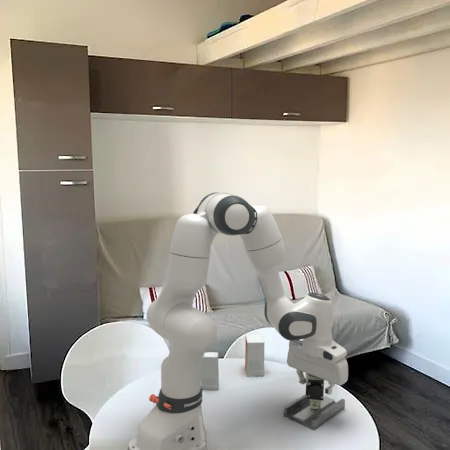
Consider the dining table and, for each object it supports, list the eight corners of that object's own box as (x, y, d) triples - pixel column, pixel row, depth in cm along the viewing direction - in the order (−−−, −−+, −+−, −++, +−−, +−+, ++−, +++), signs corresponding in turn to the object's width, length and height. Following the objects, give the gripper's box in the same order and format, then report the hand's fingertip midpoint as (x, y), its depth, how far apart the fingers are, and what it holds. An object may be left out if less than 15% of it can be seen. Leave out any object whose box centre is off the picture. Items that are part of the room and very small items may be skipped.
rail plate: (314, 430, 149) (314, 420, 148) (283, 416, 156) (284, 407, 156) (344, 408, 161) (345, 399, 160) (315, 396, 168) (315, 388, 168)
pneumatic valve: (323, 398, 164) (324, 363, 162) (322, 417, 152) (324, 380, 150) (305, 396, 165) (306, 361, 163) (303, 415, 154) (305, 378, 152)
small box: (244, 366, 190) (245, 333, 188) (261, 366, 190) (262, 333, 188) (246, 376, 182) (247, 342, 180) (264, 376, 182) (264, 342, 180)
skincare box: (218, 384, 176) (219, 351, 174) (218, 390, 172) (218, 356, 170) (201, 384, 176) (201, 351, 175) (200, 390, 172) (199, 356, 170)
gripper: (283, 339, 160) (282, 380, 162) (340, 358, 146) (338, 403, 148) (295, 334, 164) (294, 374, 166) (351, 352, 150) (349, 396, 152)
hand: (315, 388), depth 157 cm, fingers open, 8 cm apart
